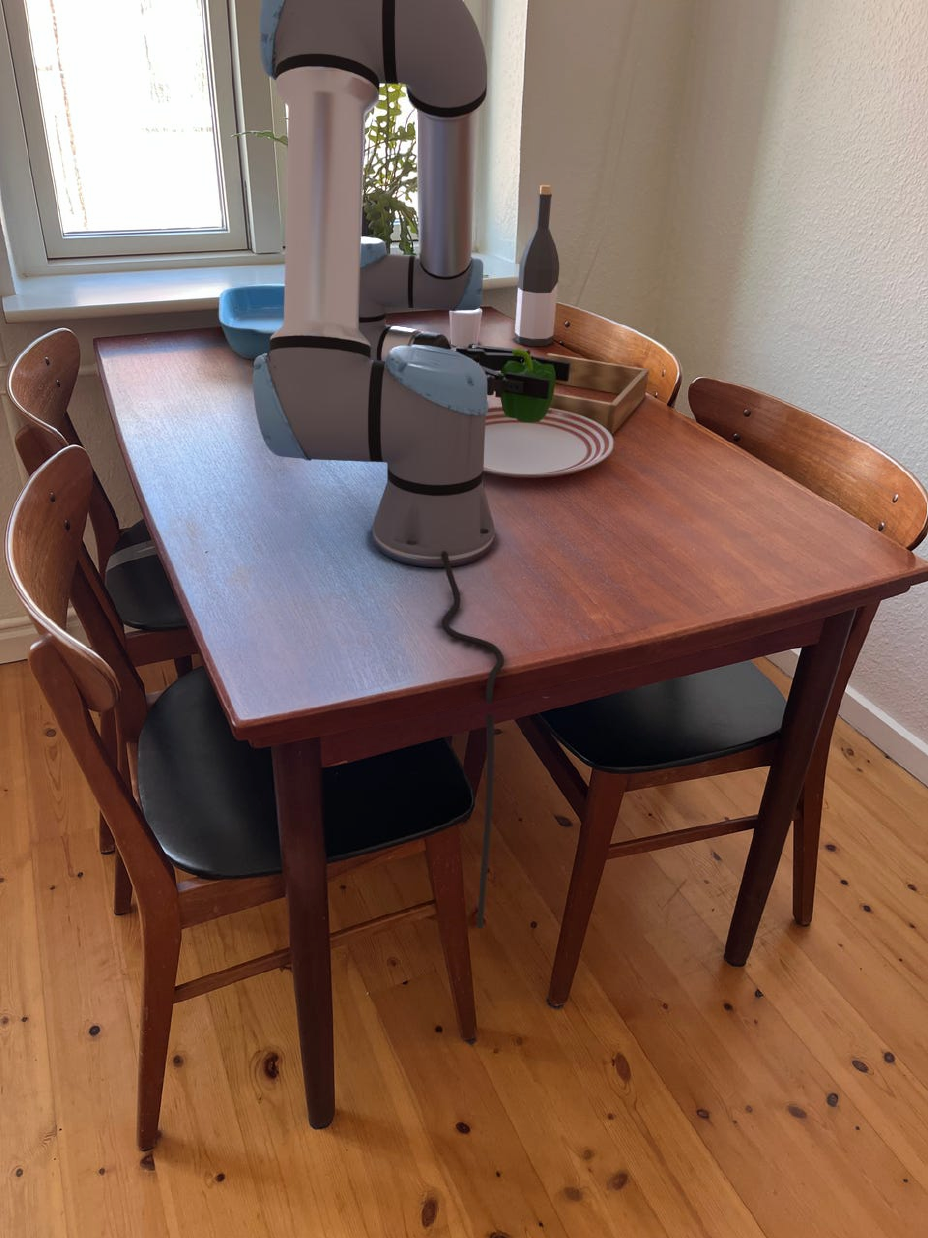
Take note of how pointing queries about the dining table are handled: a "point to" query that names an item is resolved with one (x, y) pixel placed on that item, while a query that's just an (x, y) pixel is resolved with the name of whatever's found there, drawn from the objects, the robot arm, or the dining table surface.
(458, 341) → the white cup
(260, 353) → the casserole dish
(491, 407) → the dinner plate
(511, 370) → the bell pepper
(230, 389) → the dining table surface
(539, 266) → the wine bottle
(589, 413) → the crate
